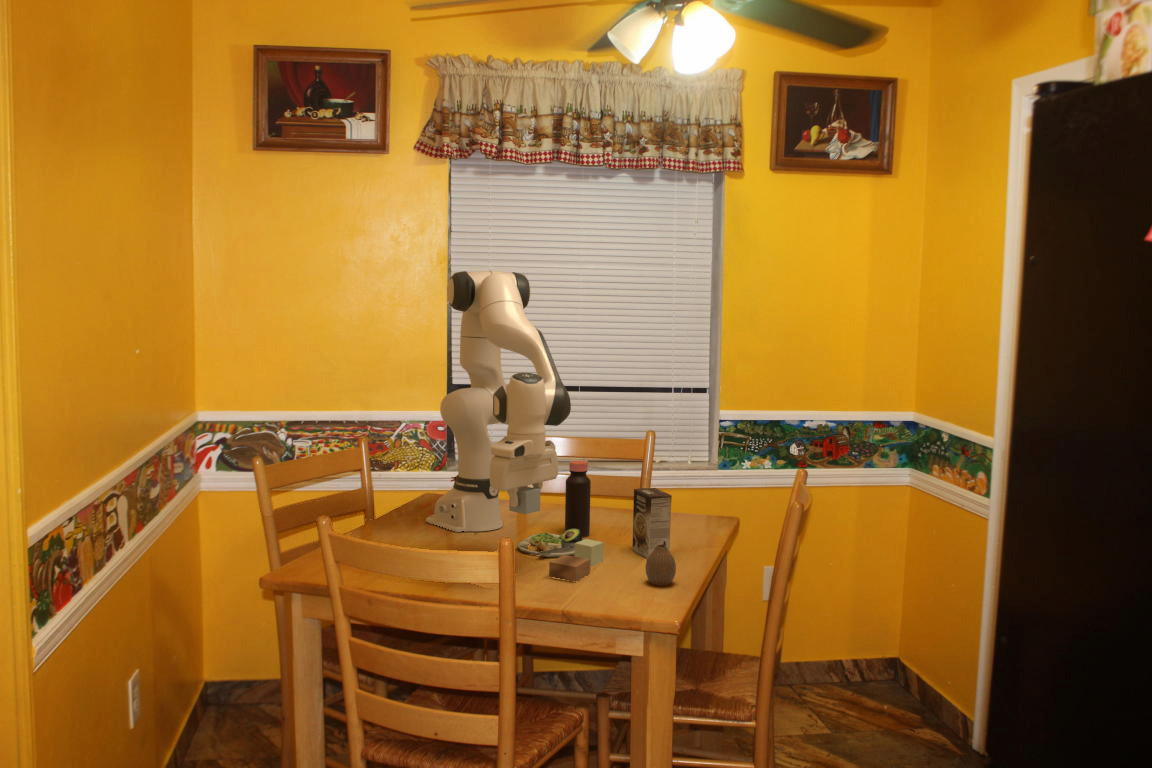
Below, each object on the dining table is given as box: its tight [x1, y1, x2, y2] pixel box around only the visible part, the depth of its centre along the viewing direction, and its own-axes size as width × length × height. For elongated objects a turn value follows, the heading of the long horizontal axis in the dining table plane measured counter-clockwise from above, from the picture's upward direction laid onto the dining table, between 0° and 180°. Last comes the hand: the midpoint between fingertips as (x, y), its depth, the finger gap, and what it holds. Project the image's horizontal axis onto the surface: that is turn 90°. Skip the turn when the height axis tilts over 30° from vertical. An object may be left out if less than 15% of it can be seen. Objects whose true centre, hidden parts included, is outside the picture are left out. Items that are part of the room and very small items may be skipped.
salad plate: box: [517, 529, 586, 558], centre depth 238 cm, size 19×18×5 cm
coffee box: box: [631, 487, 673, 560], centre depth 235 cm, size 9×6×16 cm
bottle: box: [564, 460, 592, 538], centre depth 252 cm, size 7×7×20 cm
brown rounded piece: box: [645, 544, 677, 587], centre depth 212 cm, size 7×7×9 cm
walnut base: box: [548, 555, 591, 582], centre depth 216 cm, size 7×7×4 cm
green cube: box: [573, 538, 604, 567], centre depth 228 cm, size 5×5×5 cm
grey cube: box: [508, 486, 541, 515], centre depth 215 cm, size 5×5×5 cm
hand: (524, 503), depth 215 cm, fingers closed on grey cube, 5 cm apart
